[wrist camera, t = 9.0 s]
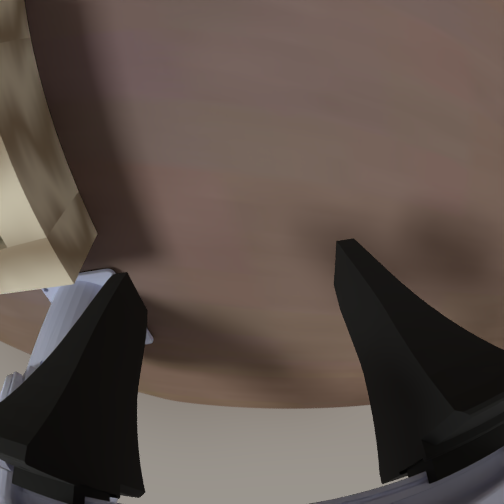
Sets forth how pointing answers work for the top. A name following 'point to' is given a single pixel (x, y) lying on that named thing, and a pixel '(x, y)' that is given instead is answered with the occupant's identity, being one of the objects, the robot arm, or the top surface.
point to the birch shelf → (34, 174)
